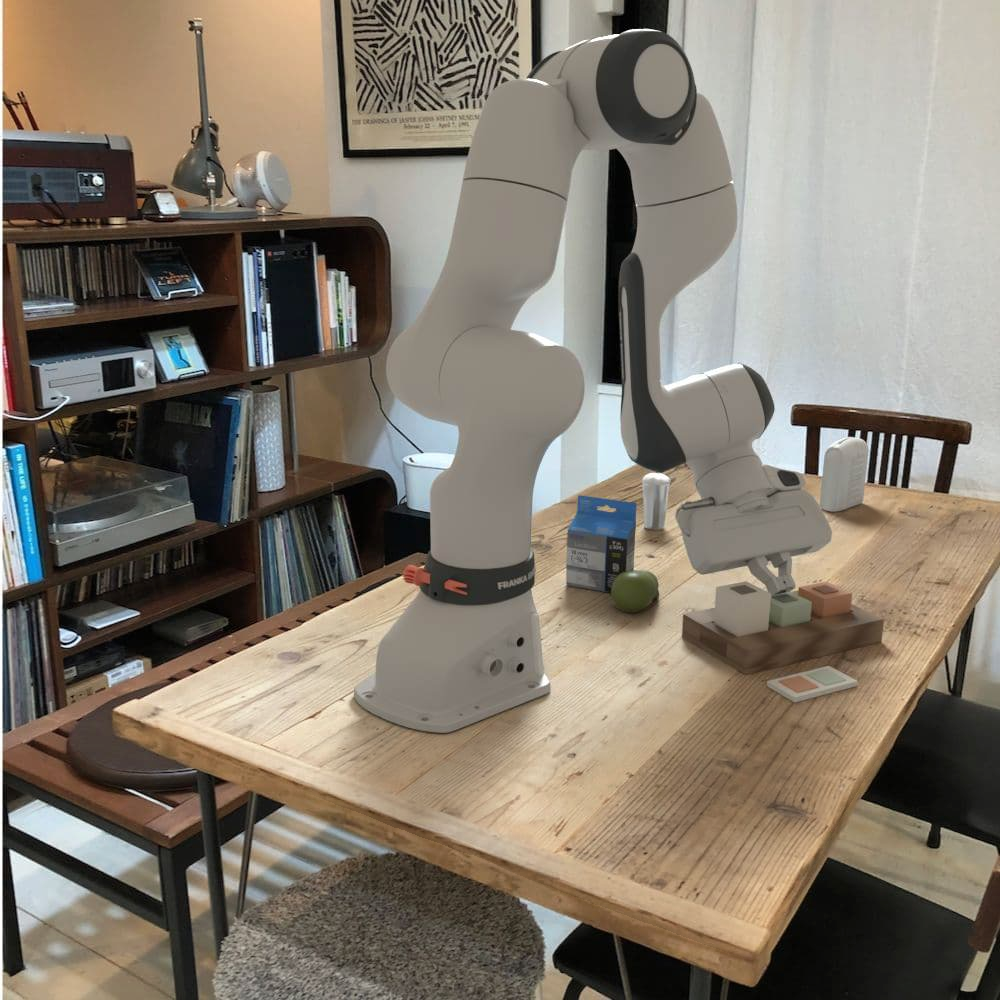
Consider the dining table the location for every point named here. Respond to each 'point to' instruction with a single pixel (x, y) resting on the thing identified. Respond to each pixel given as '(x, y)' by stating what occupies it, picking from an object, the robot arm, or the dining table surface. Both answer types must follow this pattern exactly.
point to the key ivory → (742, 608)
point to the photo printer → (844, 474)
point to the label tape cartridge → (600, 543)
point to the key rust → (826, 599)
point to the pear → (634, 590)
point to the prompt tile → (811, 683)
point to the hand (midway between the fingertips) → (783, 591)
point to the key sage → (789, 609)
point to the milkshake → (655, 500)
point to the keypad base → (783, 639)
